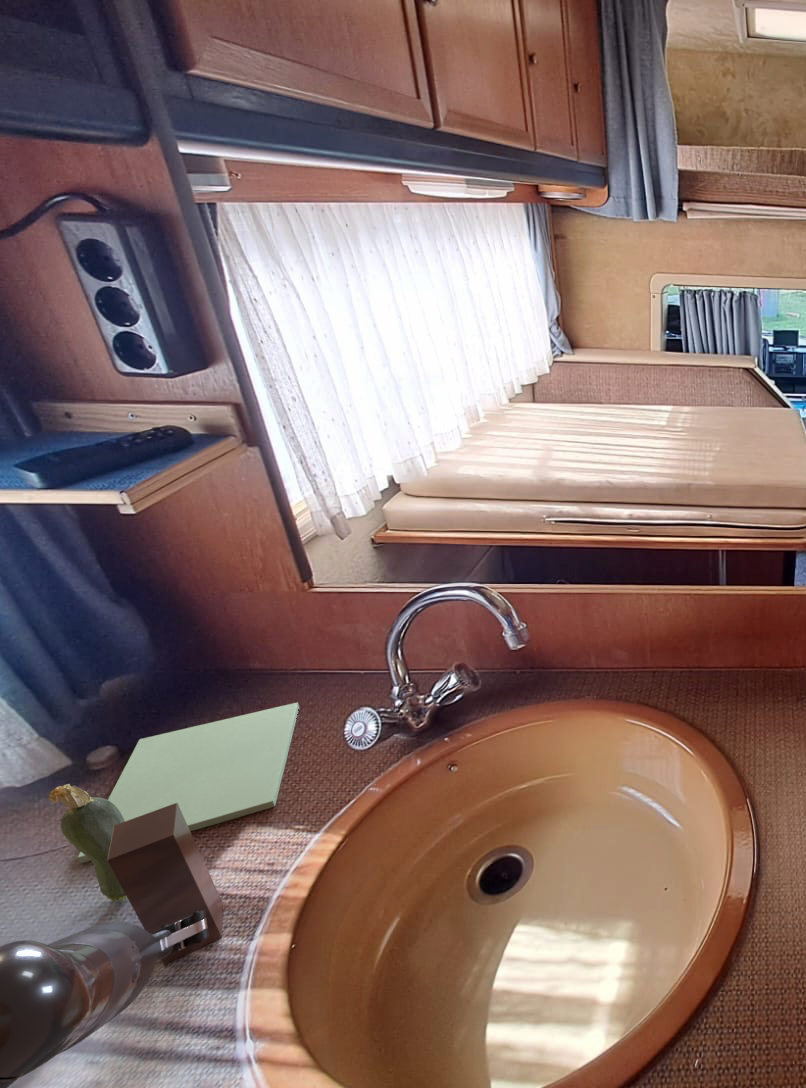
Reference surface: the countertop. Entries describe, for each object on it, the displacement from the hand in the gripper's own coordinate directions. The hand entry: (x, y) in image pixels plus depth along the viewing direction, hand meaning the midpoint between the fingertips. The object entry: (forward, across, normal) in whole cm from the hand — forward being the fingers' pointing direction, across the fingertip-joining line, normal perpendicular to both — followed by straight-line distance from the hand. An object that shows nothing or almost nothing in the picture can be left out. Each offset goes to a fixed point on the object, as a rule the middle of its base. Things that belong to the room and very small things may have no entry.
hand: (144, 948), depth 60 cm
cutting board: (+38, 0, -19) cm, 42 cm away
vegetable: (+25, +6, -6) cm, 27 cm away
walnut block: (+18, 0, +1) cm, 18 cm away
